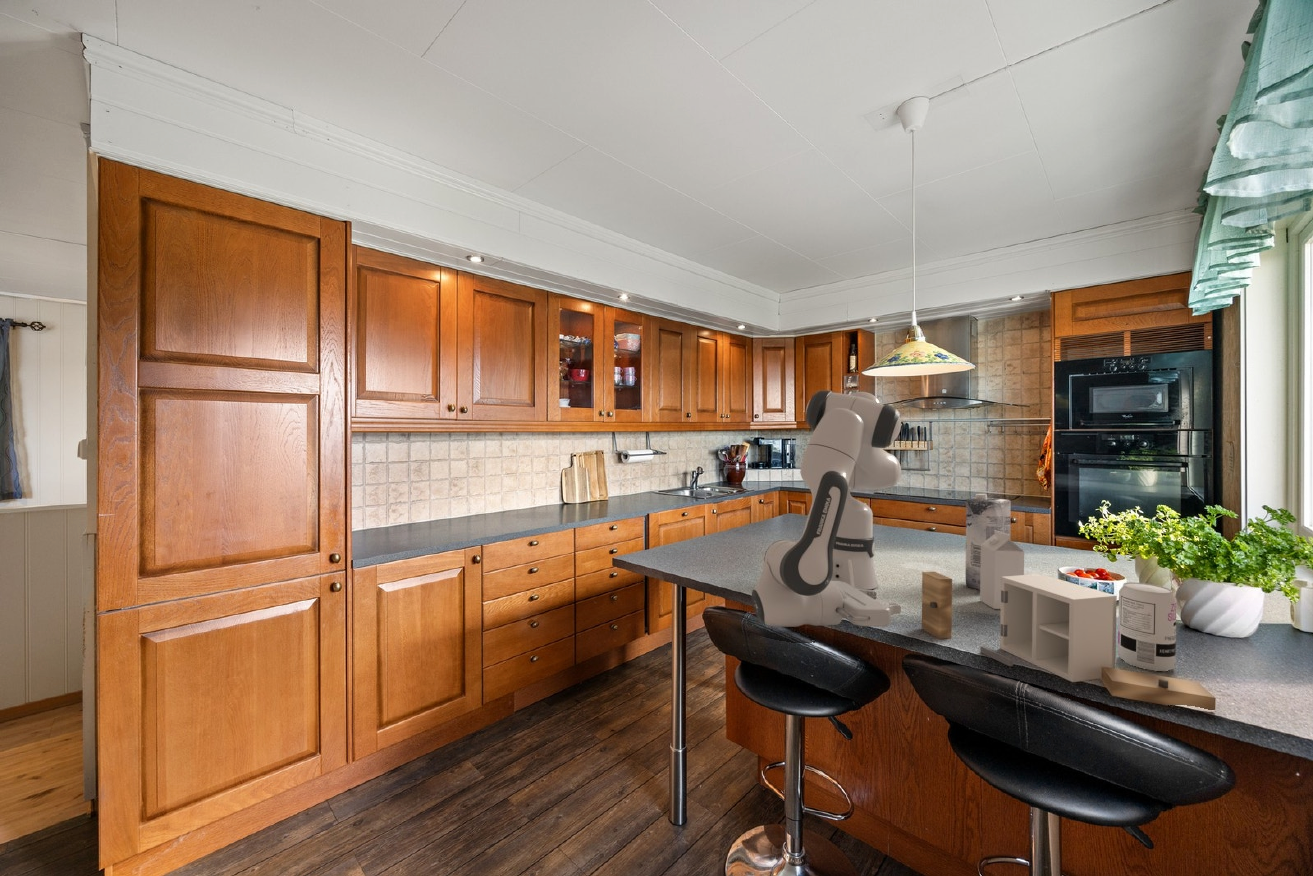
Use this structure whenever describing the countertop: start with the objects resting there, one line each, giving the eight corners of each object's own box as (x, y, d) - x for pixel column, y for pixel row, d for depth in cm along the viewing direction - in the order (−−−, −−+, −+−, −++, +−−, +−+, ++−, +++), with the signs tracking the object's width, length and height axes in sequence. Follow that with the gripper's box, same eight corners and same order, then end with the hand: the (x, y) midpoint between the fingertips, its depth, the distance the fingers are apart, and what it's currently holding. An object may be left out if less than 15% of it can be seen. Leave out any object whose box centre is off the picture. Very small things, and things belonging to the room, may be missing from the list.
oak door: (934, 638, 116) (935, 579, 116) (917, 628, 122) (918, 572, 122) (951, 638, 116) (952, 578, 116) (933, 627, 122) (934, 571, 122)
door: (1112, 698, 91) (1112, 674, 91) (1101, 683, 97) (1101, 661, 97) (1215, 716, 86) (1215, 691, 86) (1197, 699, 91) (1198, 676, 91)
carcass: (1048, 685, 95) (1049, 601, 95) (977, 650, 110) (978, 578, 109) (1115, 676, 98) (1116, 595, 98) (1037, 643, 113) (1038, 573, 113)
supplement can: (1110, 652, 109) (1111, 579, 109) (1162, 659, 106) (1163, 584, 106) (1128, 669, 101) (1130, 590, 101) (1184, 676, 98) (1186, 596, 98)
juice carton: (1013, 589, 152) (1015, 495, 151) (991, 595, 147) (993, 497, 146) (982, 581, 160) (983, 491, 159) (960, 586, 155) (961, 493, 154)
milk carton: (1007, 601, 141) (1009, 530, 141) (1023, 610, 134) (1024, 535, 134) (979, 600, 142) (980, 529, 142) (993, 609, 135) (994, 535, 134)
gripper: (850, 604, 105) (915, 602, 107) (807, 576, 125) (863, 574, 127) (850, 636, 105) (915, 633, 107) (807, 603, 126) (862, 601, 127)
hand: (886, 601), depth 117 cm, fingers open, 8 cm apart
